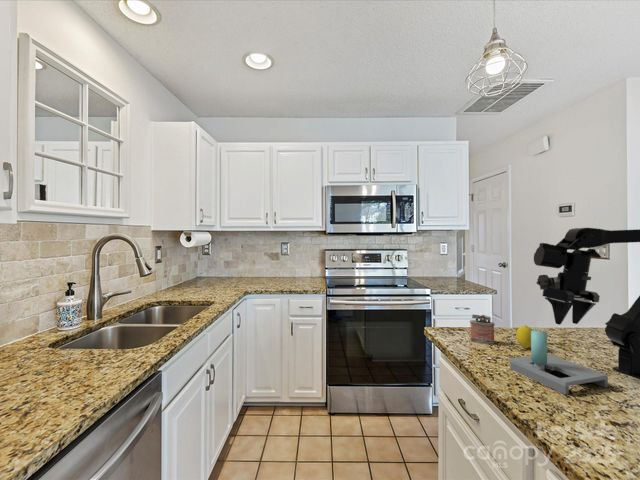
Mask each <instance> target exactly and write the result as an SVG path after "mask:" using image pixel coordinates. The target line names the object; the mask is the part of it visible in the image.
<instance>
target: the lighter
mask: <svg viewBox="0 0 640 480" xmlns="http://www.w3.org/2000/svg"><path fill="white" fill-rule="evenodd" d="M471 318H472V319H470V320H469V324H470V337H469V340H470V342H471V343H472V342H473V343H477V344H483V345H495V344H496V343H495V322H492V318H491V316H486V315H485V314H481V315H480V314H471Z"/></svg>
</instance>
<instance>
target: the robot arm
mask: <svg viewBox="0 0 640 480" xmlns="http://www.w3.org/2000/svg"><path fill="white" fill-rule="evenodd" d="M622 243H623V244H625V243H627V244H628V243H629V244H630V243H640V229H620V230H619V229H618V230H615V229H613V230H608V229H603V228H595V227H579V228H578V227H575V228H571V229H568V231H567V232H566V233H565V235H564V237H563V238H562V239H561V240H559V242H557V243H556V244H549V243H547V242H545V243H544V242H540V243H539V245H538V246H539V247H537V249H536V250H535V253H534V255H533V262H534V264H535V266H539V267H545V268H553V269H561V268H562V267H563V269H562V272H561V271H560V272H558V273H557V276H555V277H549V276H548V275H547V274H540V275H538V278H537V281H536V285H538V286H539V289H540V290H542V295H541V296H542V297H544V299H545V300H547V301H548V302H549V304H550V305H551V308H552V312H553V317H554V322H555V324H556V325H562V323H563V322H564V320H565V318H566V317H567V316H568V313H569V312H570V310H571V309H572V313H571V314H572V315H571V316H572V317H571V319H572V320H571V321H572V324H575V325H578V324H579V323H580V322H581V320H583V318H584V317H585V316H586V315H587V314H588V313H589V311H591V309H592V308H593V307H594V306H596V304H597V303H599V302H600V297H601V296H600V295H599V294H598V292H597V291H596V292H595V291H592V290H591V291H590V290H587V283H588V281H591V280H592V277H591V276H589V273H590V268H591V267H590V266H591V262H592V258H596V259H600V258H601V257H602V255H600V254H599V252H597V251H596V249H595V248H596V247H602V246H606V245H608V244H622ZM582 249H587V250H582ZM569 250H570V251H572V252H570V251H569ZM604 324H605V328H604V332H605V335H606V337H607V338H608V339H609V340H610V342H611V344H612V346H614V347H616V348H618V350H617V351H618V352H617V353H618V356H617V359H618V361H617V362H618V363H617V364H618V366H614V367H612V370H614V371H617V372H620V373H623V374H626V375H628V376H632V377H635V378H637V379H640V295H639V296H638V297H637V298H636V300H635V301H634V302H633V303H632V305H631V306H630V308H629V309H628V310H627V311H626V312H624V313H622V314H619V313H612V315H611V317H610V319H609V320H608V321H606V322H605V323H604Z"/></svg>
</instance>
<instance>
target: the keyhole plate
mask: <svg viewBox="0 0 640 480" xmlns="http://www.w3.org/2000/svg"><path fill="white" fill-rule="evenodd" d="M509 366H510V367H509V368H510V370H513V371H514V372H516V373H518V374H521V375H522V376H525V377H527V378H528V379H529V378H530V379H531V380H533V381H535V382H537V383H539V384H542V385H544V386H546V387H548V388H550V389H552V390H554V391H557V392H558V393H561V394H563V395H565V396H566V395H569V393H570V391H569V388H570V387H571V386H576V385H581V384H587V383H593V384H595V385H597V386H600V387H603V388H608V387H609V384H608V383H609V381H608V379H609V378H608V374H605V373H603V372H600V371H597V370H594V369H592V368H589V367H586V366H584V365H580V364H578V363H576V362H572V361H570V360H567V359H565V358H561V357H558V356H556V355H554V354H550V353H549V352H547V364H545V369H548V370H550V371H557V372H560V373H562V374H565V375H567V376H568V377H558V376H556V375H553V374H551V373H550V372H549V373H546V372H544V371H542V368H540V367H537V366H535V365H534V362H532V361H531V355H526V356H519V357H513V358H510V363H509Z"/></svg>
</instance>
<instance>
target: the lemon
mask: <svg viewBox="0 0 640 480" xmlns="http://www.w3.org/2000/svg"><path fill="white" fill-rule="evenodd" d="M532 330H533V329H532V328H531V327H529V326H528V325H527V324H526V325H525V324H524V325H522V326H520V327H519V328H518V329H517V330H516V334H515V335H516V336H515V337H516V341H517V343H518V344H519V345H520V346H522V347H523V348H524V349H529V348H531V331H532Z"/></svg>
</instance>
